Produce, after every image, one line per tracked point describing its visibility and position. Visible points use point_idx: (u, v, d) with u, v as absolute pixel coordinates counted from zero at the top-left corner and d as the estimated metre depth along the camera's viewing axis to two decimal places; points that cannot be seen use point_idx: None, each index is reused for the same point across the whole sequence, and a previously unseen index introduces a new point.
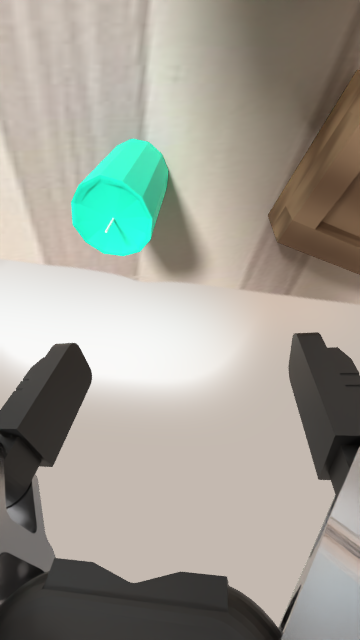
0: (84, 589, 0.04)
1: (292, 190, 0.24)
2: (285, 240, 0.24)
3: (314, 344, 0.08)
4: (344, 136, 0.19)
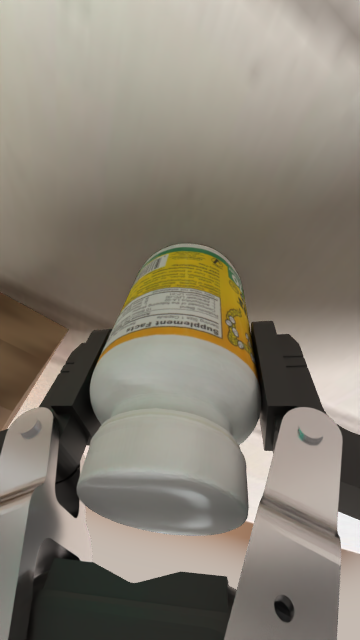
0: (84, 589, 0.04)
1: None
2: None
3: (266, 330, 0.09)
4: None
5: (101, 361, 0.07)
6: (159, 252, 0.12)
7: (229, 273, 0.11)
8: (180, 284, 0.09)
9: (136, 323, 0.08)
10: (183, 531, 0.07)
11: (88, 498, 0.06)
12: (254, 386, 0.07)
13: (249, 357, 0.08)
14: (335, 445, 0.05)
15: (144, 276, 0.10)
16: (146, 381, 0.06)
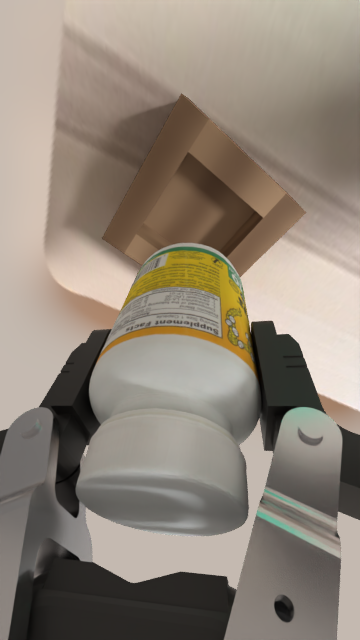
0: (84, 589, 0.04)
1: (221, 130, 0.21)
2: (181, 107, 0.17)
3: (266, 330, 0.09)
4: None
5: (100, 361, 0.07)
6: (159, 251, 0.12)
7: (229, 272, 0.11)
8: (179, 284, 0.09)
9: (135, 323, 0.08)
10: (183, 532, 0.07)
11: (87, 498, 0.06)
12: (254, 386, 0.07)
13: (249, 357, 0.08)
14: (335, 445, 0.05)
15: (144, 275, 0.10)
16: (145, 380, 0.06)
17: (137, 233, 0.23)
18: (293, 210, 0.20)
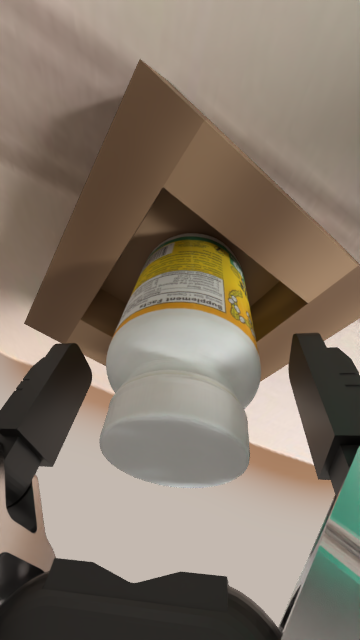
0: (84, 589, 0.04)
1: (229, 139, 0.11)
2: (142, 93, 0.08)
3: (314, 344, 0.08)
4: (329, 237, 0.10)
5: (117, 334, 0.08)
6: (165, 241, 0.13)
7: (231, 260, 0.12)
8: (186, 268, 0.10)
9: (148, 301, 0.08)
10: (192, 483, 0.08)
11: (109, 449, 0.07)
12: (254, 355, 0.08)
13: (250, 331, 0.09)
14: None
15: (152, 262, 0.11)
16: (159, 347, 0.07)
17: (83, 317, 0.13)
18: None
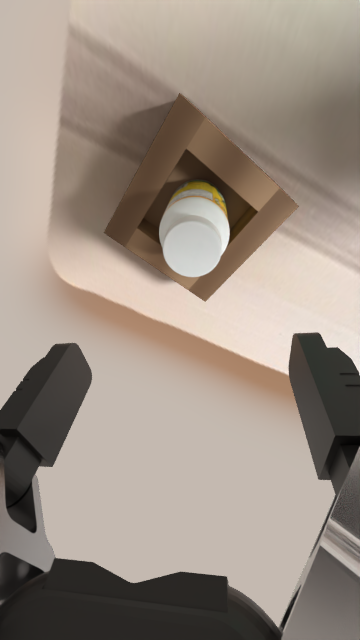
0: (84, 589, 0.04)
1: None
2: (179, 106, 0.18)
3: (314, 344, 0.08)
4: None
5: (166, 211, 0.19)
6: (182, 184, 0.23)
7: (217, 191, 0.22)
8: (194, 188, 0.20)
9: (178, 198, 0.19)
10: (199, 271, 0.18)
11: (166, 248, 0.18)
12: (225, 218, 0.19)
13: (224, 211, 0.19)
14: None
15: (177, 191, 0.22)
16: (185, 211, 0.18)
17: (137, 227, 0.24)
18: (286, 204, 0.21)
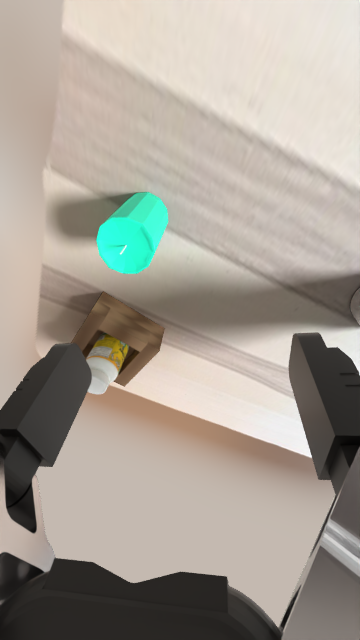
0: (84, 589, 0.04)
1: (118, 309, 0.42)
2: (91, 315, 0.39)
3: (314, 344, 0.08)
4: (141, 336, 0.41)
5: None
6: (104, 333, 0.44)
7: None
8: (104, 345, 0.41)
9: (92, 354, 0.40)
10: (97, 392, 0.39)
11: None
12: (113, 367, 0.39)
13: (114, 362, 0.40)
14: None
15: (98, 341, 0.42)
16: (92, 365, 0.38)
17: None
18: (153, 350, 0.42)
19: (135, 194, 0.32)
